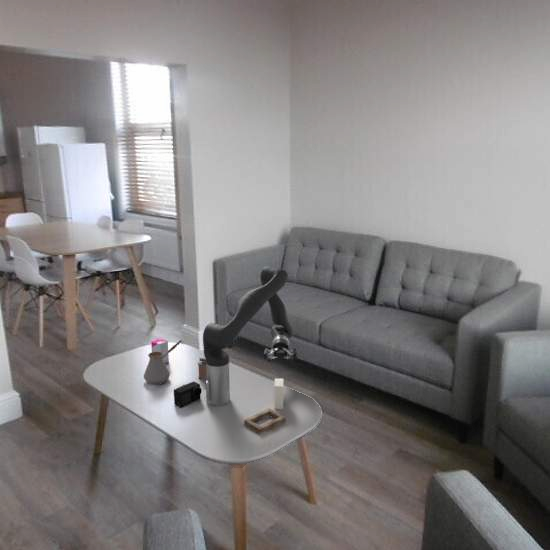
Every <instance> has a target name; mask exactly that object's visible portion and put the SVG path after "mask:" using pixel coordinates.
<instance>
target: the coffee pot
mask: <svg viewBox="0 0 550 550" xmlns="http://www.w3.org/2000/svg"><path fill="white" fill-rule="evenodd" d="M180 343H181V344H184V341H183V340H181V339H180V340H179V341H178V342H176V343H175V344H174V345H172V346H171V347H170V349H168V352H167V353H166V354H164V355H163V353H162V352H152V351H151V352H150V353H148V357H149V360H148V364H147V366H146V368H145V371H144V374H143V379H144V380H145V382H146V383H148V384H150V385H153V386H154V385H155V386H158V385H162V384H164V383H166V382H167V381H168V379H169V378H170V375H171V373H170V370H169V369H168V367H167V364H165V363H164V362H163V360H162V359H163V358H164V357H165V356H166V355H167V354H168V355H169V354H170V353H172V351H174V349H176V348H177V346H179V345H180Z"/></svg>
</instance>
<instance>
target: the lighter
mask: <svg viewBox="0 0 550 550" xmlns="http://www.w3.org/2000/svg"><path fill="white" fill-rule="evenodd" d="M198 359H199V362H198V363H197V365H198V380H201V381H207V367H206V358H205V357H199V358H198Z"/></svg>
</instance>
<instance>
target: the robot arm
mask: <svg viewBox="0 0 550 550" xmlns="http://www.w3.org/2000/svg"><path fill="white" fill-rule="evenodd" d="M288 279H289V277H288V272H287V271H286V270H285V269H283V268H280V267H276V266H271V265H267V266H264V267H263V268H262V269H261V271H260V282H261V285H262V286H260V287H259V286H258V287H257V288H253V289H251V290H249V291H246V292H245V293H244V294H243V295H242V296H241V297H240V298H239V300H238V301H237V302H236V303H235V305H234V311H233V317H232V319H231V320H230V321H229V322H228V323H227V324H226V325H224V324H219V323H215V322H209V323H208V324H207V325H206V326H205V328H203V329H204V330H203V332H202V333H203V334H202V345H203V346H202V347H203V355H204V356H203V357H204V358H205V359H206V367H207V381H206V382H205V391H206V392H205V393H206V394H205V395H206V404H207V405H208V404H209V405H211V406H217V407H218V406H221V407H222V406H225V405H227V404H229V403H230V400H231V393H230V392H231V387H230V385H231V384H230V381H231V380H230V356H229V354H228V353H227V352H226V351H225V349H227V348H228V347H230V345H232V343H234V342H233V341H235V339H236V338H237V336H238V335H239V333H240V332H241V331H242V330H243V328H244V327H245V326H246V325H247V324H248V323H249V321H250V320H252V318H253V317H254V316H255V315H256V314H257V313H258V312H259V311H260V310H261V308H262V307H263V306H264V305H265V304H266V303H267V302H268V305H269V309H270V315H271V321H272V323H273V324H274V325H273V326H271V328H270V336H271V339H272V347H271V349H268V348H267V347H266V348H264V350H263V351H264V352H263V359H264V360H267V362H268V363H269V364H272V359H273V360H274V359H277V358H284V359H286V360H288V361H289V364H291V363H292V362H293V360H297V359H298V358H297V357H298V356H297V354H298V352H297V348H293V349H292V350H291V349H290V341H289V339H291V338H292V337H293V334H294V333H293V331H294V330H293V328H292V325H291V323H289V320H288V317H287V311H286V307H285V304H284V302H283V300H282V299H281V297H280V296H279V294H278V292H279V291H280V290H282V289H283V287H284V286H285V285H286V283H287V281H288Z"/></svg>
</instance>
